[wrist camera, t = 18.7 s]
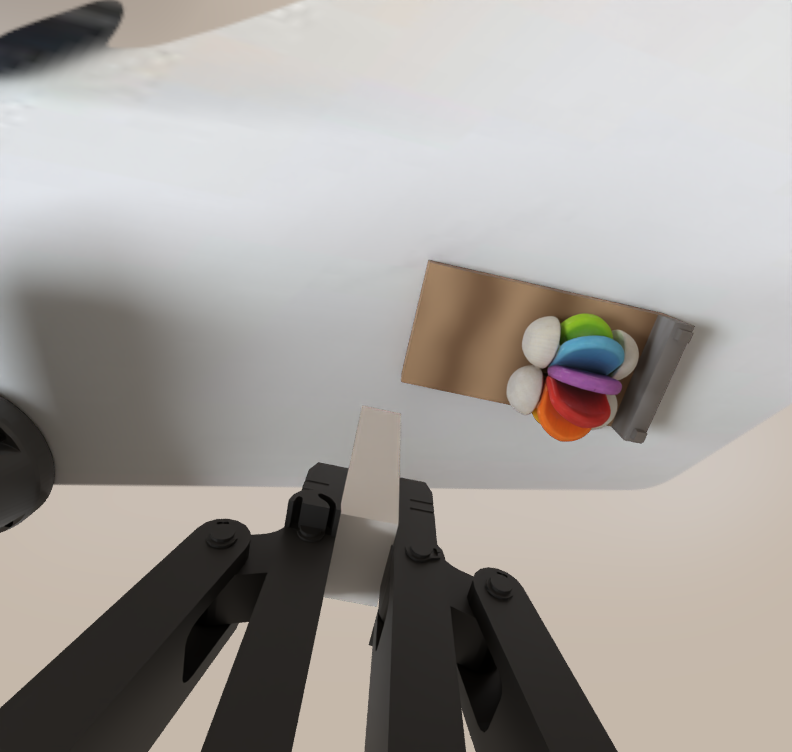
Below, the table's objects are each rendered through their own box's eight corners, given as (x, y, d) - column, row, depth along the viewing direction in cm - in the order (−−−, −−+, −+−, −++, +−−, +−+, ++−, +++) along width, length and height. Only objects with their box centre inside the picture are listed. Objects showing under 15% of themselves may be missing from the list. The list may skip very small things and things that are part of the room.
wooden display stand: (401, 373, 41) (400, 396, 36) (428, 259, 37) (431, 267, 32) (617, 419, 42) (645, 447, 37) (662, 313, 38) (700, 328, 34)
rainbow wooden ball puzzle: (494, 406, 39) (513, 448, 33) (531, 296, 36) (560, 317, 29) (589, 427, 40) (627, 473, 33) (634, 320, 37) (686, 346, 30)
